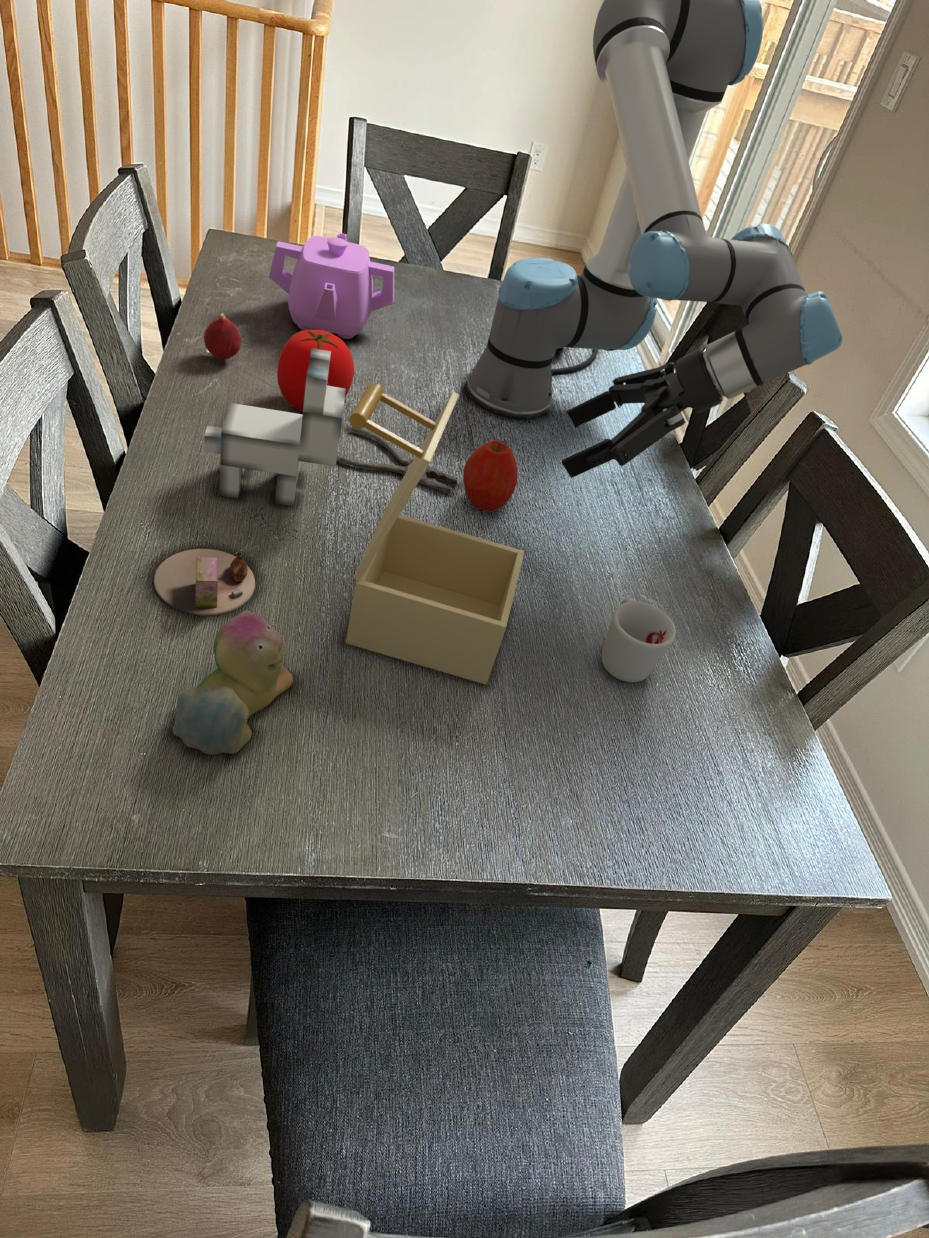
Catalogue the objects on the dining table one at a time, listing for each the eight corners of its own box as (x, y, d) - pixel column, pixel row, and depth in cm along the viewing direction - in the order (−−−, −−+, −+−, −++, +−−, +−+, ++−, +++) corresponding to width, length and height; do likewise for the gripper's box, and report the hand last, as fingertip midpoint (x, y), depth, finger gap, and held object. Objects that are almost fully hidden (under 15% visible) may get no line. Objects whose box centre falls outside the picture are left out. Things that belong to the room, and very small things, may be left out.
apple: (447, 488, 134) (462, 427, 127) (496, 484, 137) (513, 425, 130) (469, 522, 129) (485, 460, 122) (518, 517, 132) (537, 457, 125)
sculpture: (240, 772, 90) (244, 708, 83) (163, 743, 91) (161, 678, 84) (298, 675, 101) (306, 612, 94) (229, 651, 101) (232, 586, 95)
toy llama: (209, 461, 126) (212, 330, 113) (333, 480, 129) (350, 354, 116) (200, 492, 121) (202, 359, 107) (329, 511, 124) (347, 383, 110)
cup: (584, 626, 118) (603, 582, 112) (640, 632, 119) (662, 588, 114) (600, 687, 110) (621, 643, 105) (660, 692, 112) (684, 649, 106)
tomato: (300, 433, 136) (308, 358, 128) (259, 395, 141) (264, 320, 133) (365, 416, 143) (376, 345, 135) (324, 381, 149) (332, 310, 140)
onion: (247, 360, 148) (249, 315, 143) (226, 373, 144) (227, 327, 138) (218, 347, 149) (219, 302, 144) (196, 359, 145) (196, 313, 140)
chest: (505, 607, 117) (524, 551, 110) (486, 685, 106) (506, 627, 100) (377, 569, 117) (389, 510, 110) (345, 643, 106) (355, 582, 100)
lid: (459, 394, 98) (386, 352, 97) (430, 462, 88) (347, 416, 86) (392, 509, 110) (326, 473, 109) (359, 581, 99) (285, 542, 98)
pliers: (342, 422, 139) (465, 457, 139) (341, 426, 140) (464, 461, 140) (324, 453, 132) (453, 490, 132) (323, 458, 132) (452, 495, 132)
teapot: (321, 355, 154) (331, 271, 144) (255, 309, 161) (260, 225, 151) (399, 334, 167) (413, 255, 156) (335, 292, 174) (344, 213, 164)
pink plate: (257, 615, 106) (259, 588, 103) (151, 615, 103) (150, 586, 100) (253, 550, 115) (254, 523, 112) (154, 548, 111) (153, 519, 108)
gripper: (733, 446, 108) (577, 513, 117) (718, 356, 126) (584, 420, 135) (709, 397, 104) (550, 470, 113) (696, 311, 122) (560, 380, 132)
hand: (568, 443), depth 124 cm, fingers open, 13 cm apart
